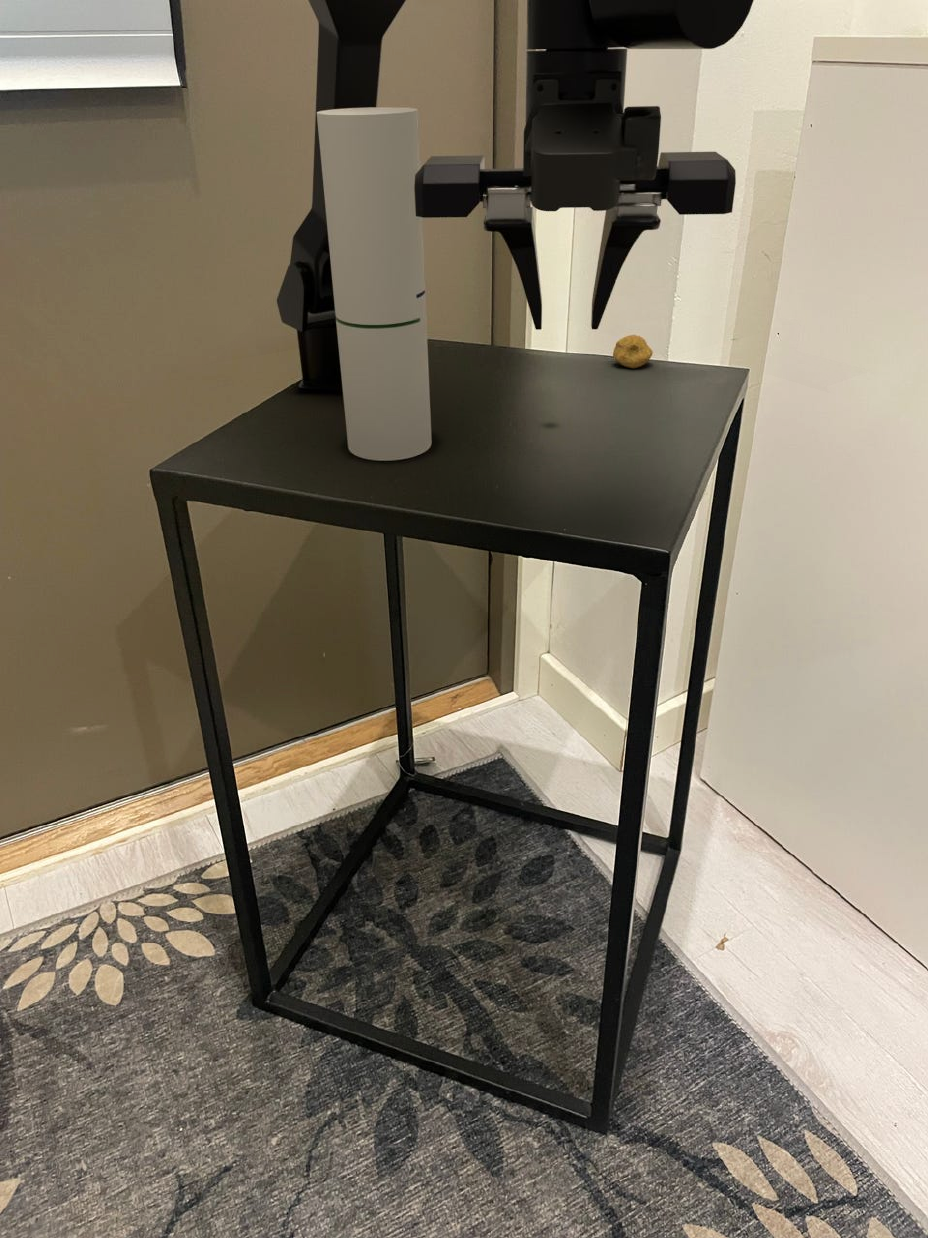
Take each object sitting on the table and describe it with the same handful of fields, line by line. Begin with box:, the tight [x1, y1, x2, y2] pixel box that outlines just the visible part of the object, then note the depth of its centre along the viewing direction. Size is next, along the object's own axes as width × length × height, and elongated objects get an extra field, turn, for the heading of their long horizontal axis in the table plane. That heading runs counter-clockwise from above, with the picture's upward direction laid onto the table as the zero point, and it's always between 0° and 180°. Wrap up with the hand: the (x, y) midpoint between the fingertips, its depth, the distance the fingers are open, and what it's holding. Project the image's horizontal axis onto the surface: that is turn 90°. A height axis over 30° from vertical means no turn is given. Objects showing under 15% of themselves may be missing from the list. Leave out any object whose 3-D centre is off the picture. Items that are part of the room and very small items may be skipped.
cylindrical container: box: [317, 106, 433, 462], centre depth 72 cm, size 7×7×25 cm
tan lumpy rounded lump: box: [612, 334, 654, 369], centre depth 95 cm, size 4×4×3 cm
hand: (566, 327), depth 61 cm, fingers open, 3 cm apart
